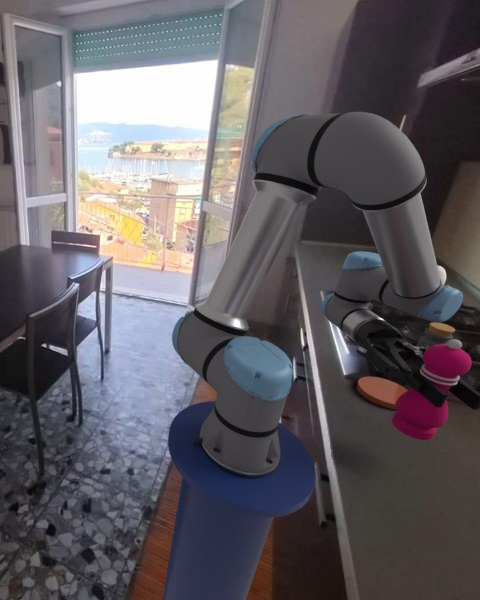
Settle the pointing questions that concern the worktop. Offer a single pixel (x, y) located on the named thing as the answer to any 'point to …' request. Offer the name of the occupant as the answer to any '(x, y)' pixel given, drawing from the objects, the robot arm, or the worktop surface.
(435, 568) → the worktop surface
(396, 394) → the trivet
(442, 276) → the egg
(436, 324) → the bottle
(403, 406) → the pepper mill
